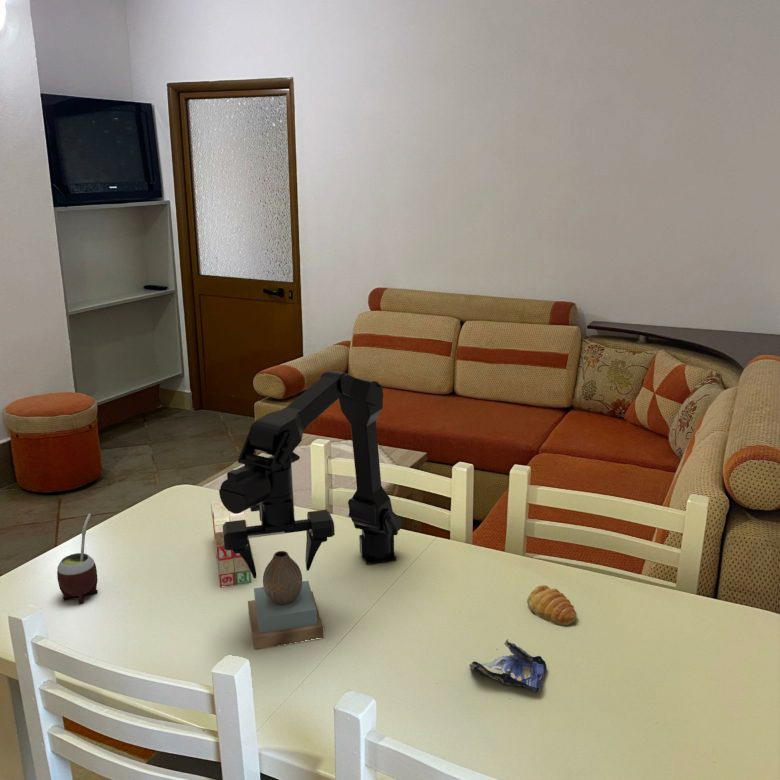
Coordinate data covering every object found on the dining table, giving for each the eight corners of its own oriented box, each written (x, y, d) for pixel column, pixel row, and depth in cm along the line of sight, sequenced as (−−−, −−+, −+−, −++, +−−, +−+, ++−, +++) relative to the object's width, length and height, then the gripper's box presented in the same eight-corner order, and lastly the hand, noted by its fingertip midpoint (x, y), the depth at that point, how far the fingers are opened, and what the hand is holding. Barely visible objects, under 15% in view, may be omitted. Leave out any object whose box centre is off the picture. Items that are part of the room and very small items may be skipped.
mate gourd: (61, 609, 143) (50, 537, 139) (60, 589, 150) (49, 520, 146) (103, 600, 146) (93, 529, 142) (100, 581, 153) (90, 512, 149)
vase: (310, 592, 138) (307, 547, 135) (292, 612, 131) (289, 566, 129) (276, 586, 140) (273, 542, 138) (257, 605, 134) (253, 560, 131)
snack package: (500, 646, 131) (457, 676, 122) (506, 615, 128) (463, 644, 120) (559, 686, 123) (517, 722, 115) (567, 655, 121) (525, 689, 113)
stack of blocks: (214, 539, 170) (209, 488, 166) (242, 535, 171) (238, 485, 168) (220, 588, 150) (214, 531, 146) (252, 583, 151) (247, 527, 148)
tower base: (313, 605, 144) (312, 591, 144) (324, 641, 133) (323, 626, 132) (249, 615, 142) (247, 601, 141) (254, 653, 130) (253, 638, 130)
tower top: (309, 594, 142) (308, 580, 142) (317, 624, 133) (316, 609, 132) (255, 602, 140) (253, 588, 139) (259, 633, 131) (258, 618, 130)
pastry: (585, 620, 137) (586, 601, 136) (557, 632, 134) (558, 613, 133) (549, 597, 145) (550, 579, 144) (522, 608, 141) (522, 590, 140)
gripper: (322, 468, 140) (326, 545, 144) (218, 479, 135) (225, 558, 140) (333, 492, 129) (336, 574, 134) (220, 505, 125) (228, 590, 129)
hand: (281, 573), depth 134 cm, fingers open, 9 cm apart
